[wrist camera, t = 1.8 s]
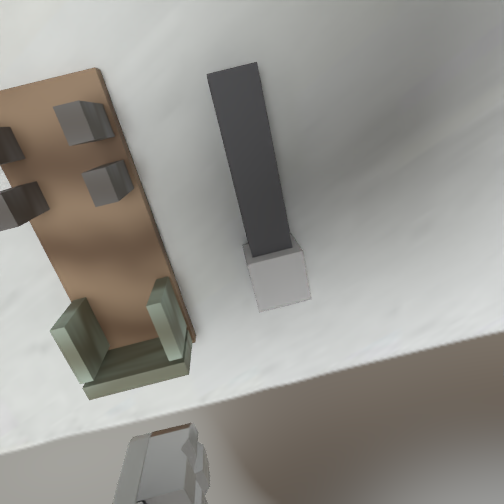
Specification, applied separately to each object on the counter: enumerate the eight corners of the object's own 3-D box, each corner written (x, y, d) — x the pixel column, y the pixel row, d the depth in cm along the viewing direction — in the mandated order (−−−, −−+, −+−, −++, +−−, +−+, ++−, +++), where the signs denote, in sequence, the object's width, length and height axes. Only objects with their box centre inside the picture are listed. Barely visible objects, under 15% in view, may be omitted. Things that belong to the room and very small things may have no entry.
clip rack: (-23, 99, 21) (-91, 94, 16) (100, 69, 21) (67, 55, 16) (108, 357, 29) (87, 402, 24) (195, 335, 29) (192, 375, 24)
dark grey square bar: (200, 81, 22) (197, 73, 18) (258, 67, 22) (267, 56, 18) (253, 287, 28) (259, 312, 24) (298, 275, 28) (311, 299, 24)
